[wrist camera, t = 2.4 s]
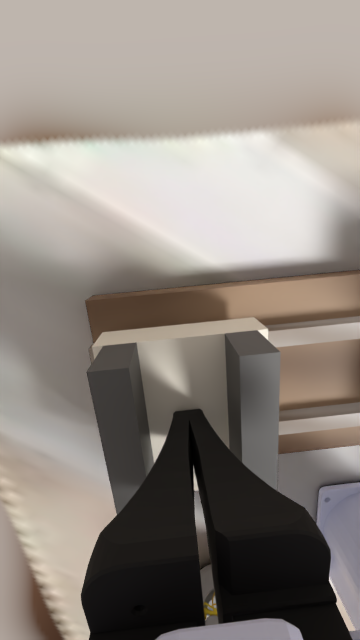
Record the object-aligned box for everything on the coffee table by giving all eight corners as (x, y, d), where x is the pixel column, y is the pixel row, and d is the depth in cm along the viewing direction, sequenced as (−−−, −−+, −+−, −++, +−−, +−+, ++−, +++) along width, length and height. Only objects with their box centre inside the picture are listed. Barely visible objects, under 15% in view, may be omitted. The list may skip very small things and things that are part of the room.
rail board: (463, 417, 20) (615, 506, 13) (122, 454, 19) (98, 568, 12) (505, 255, 16) (741, 263, 10) (92, 295, 16) (38, 334, 9)
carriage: (255, 454, 16) (287, 530, 12) (127, 468, 16) (113, 551, 12) (253, 317, 14) (293, 350, 9) (102, 332, 14) (72, 373, 9)
